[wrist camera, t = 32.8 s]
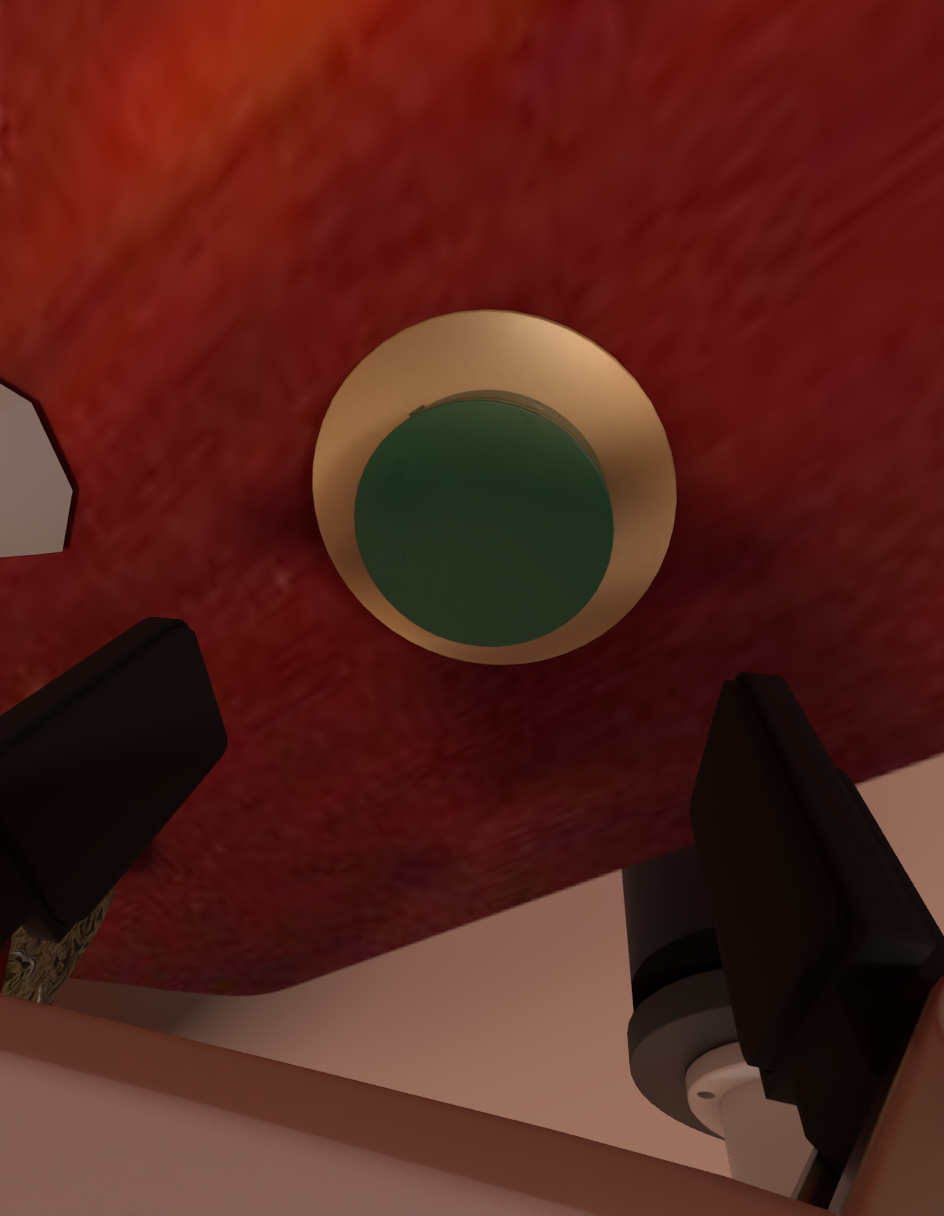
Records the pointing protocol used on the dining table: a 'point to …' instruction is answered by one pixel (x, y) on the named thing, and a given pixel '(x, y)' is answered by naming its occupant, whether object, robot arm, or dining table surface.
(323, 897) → the dining table surface
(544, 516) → the jar lid
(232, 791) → the dining table surface
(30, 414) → the flask
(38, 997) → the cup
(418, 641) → the coaster
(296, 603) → the dining table surface
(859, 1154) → the robot arm
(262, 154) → the dining table surface
